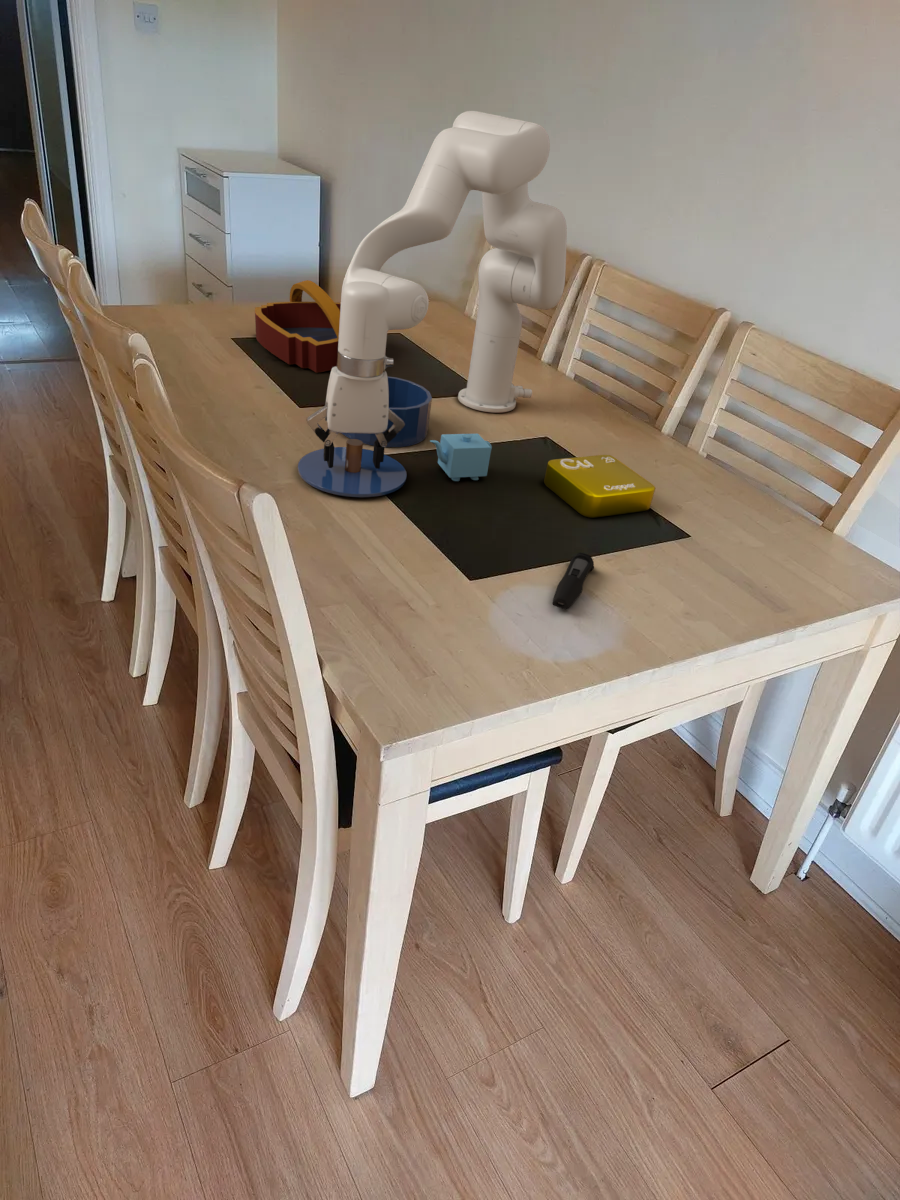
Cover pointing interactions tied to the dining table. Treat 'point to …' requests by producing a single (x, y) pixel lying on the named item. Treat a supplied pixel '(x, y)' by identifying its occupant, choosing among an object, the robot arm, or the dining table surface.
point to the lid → (352, 472)
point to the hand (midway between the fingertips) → (353, 464)
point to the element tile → (598, 485)
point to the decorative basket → (301, 328)
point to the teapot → (463, 455)
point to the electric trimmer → (573, 581)
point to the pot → (404, 413)
